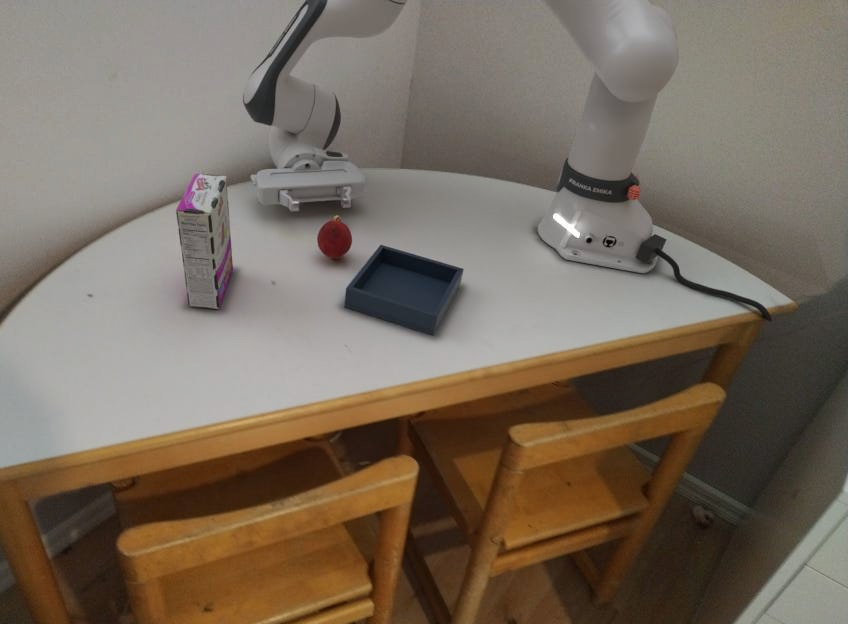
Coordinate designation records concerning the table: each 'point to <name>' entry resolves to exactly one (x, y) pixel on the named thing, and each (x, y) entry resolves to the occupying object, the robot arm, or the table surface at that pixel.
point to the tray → (404, 289)
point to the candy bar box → (205, 240)
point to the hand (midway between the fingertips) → (321, 205)
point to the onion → (334, 238)
